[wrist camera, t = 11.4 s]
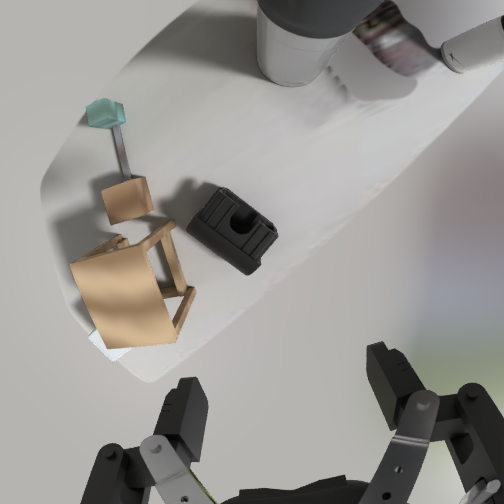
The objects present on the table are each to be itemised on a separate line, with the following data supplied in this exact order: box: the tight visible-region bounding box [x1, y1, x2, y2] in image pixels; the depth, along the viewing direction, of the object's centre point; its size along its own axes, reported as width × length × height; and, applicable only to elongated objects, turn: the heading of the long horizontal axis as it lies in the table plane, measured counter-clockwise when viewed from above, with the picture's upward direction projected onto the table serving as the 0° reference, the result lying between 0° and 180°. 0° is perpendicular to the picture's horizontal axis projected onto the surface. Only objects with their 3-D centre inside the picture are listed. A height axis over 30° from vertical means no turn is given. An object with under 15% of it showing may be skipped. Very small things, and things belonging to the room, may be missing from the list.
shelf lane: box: [69, 220, 196, 349], centre depth 36 cm, size 12×10×13 cm
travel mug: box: [441, 15, 504, 73], centre depth 21 cm, size 6×7×20 cm
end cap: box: [186, 187, 278, 275], centre depth 37 cm, size 10×7×7 cm
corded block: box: [86, 98, 154, 225], centre depth 35 cm, size 17×5×6 cm, turn 13°
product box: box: [88, 327, 133, 362], centre depth 43 cm, size 6×6×7 cm
